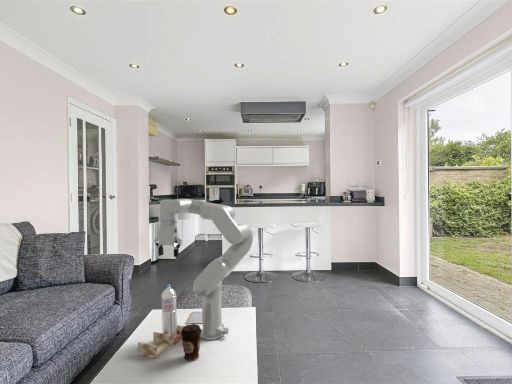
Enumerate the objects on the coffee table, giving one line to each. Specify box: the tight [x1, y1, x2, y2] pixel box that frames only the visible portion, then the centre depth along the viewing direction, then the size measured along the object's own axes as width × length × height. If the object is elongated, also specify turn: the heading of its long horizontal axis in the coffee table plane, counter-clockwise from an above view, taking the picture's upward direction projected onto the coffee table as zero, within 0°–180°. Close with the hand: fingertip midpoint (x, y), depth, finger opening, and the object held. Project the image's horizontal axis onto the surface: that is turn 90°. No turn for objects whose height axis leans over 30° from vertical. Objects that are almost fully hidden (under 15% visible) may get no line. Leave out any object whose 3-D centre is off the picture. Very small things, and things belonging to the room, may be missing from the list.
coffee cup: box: [181, 323, 202, 362], centre depth 124 cm, size 9×8×13 cm
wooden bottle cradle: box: [137, 324, 185, 360], centre depth 134 cm, size 11×20×5 cm, turn 158°
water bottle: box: [161, 284, 178, 339], centre depth 139 cm, size 7×7×25 cm
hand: (168, 255), depth 151 cm, fingers open, 9 cm apart
